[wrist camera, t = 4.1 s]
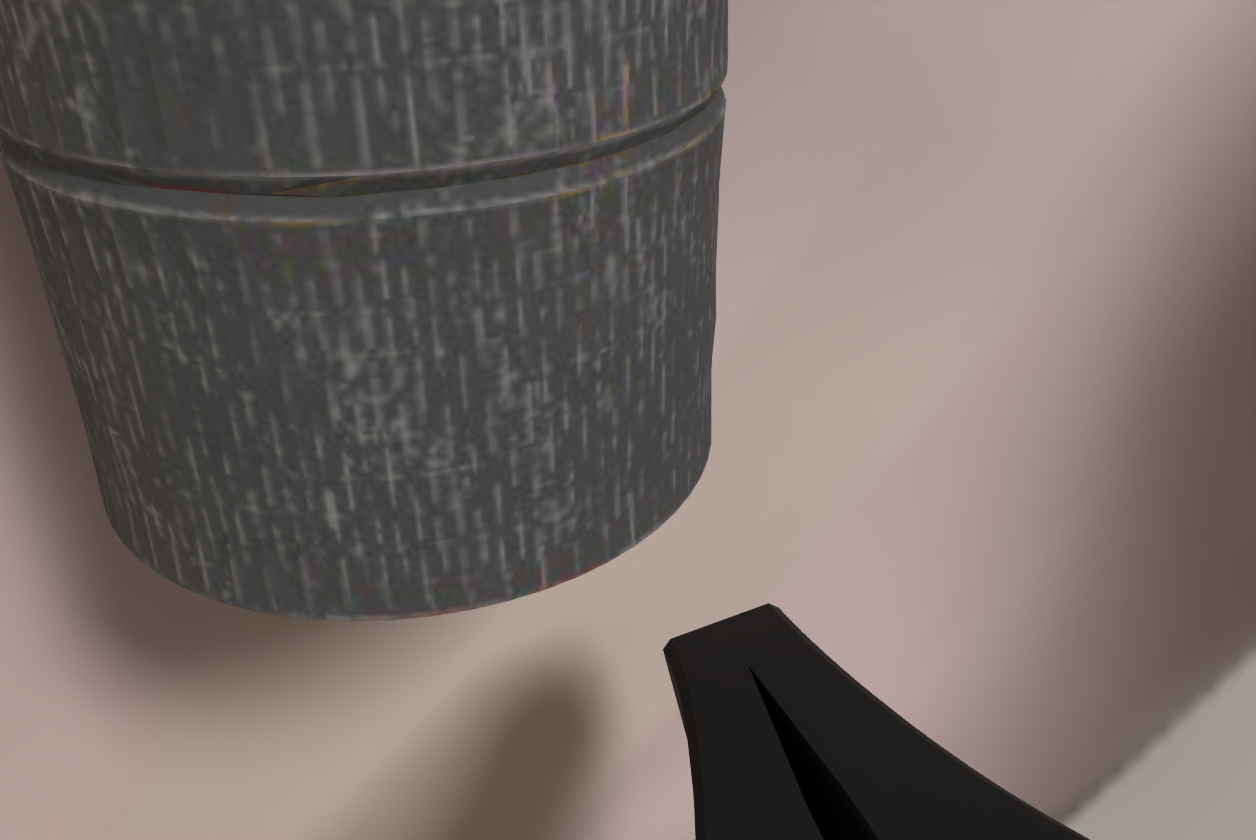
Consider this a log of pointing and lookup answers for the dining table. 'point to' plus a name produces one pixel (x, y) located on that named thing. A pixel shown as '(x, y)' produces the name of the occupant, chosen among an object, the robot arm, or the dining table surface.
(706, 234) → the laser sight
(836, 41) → the dining table surface
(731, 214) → the dining table surface
